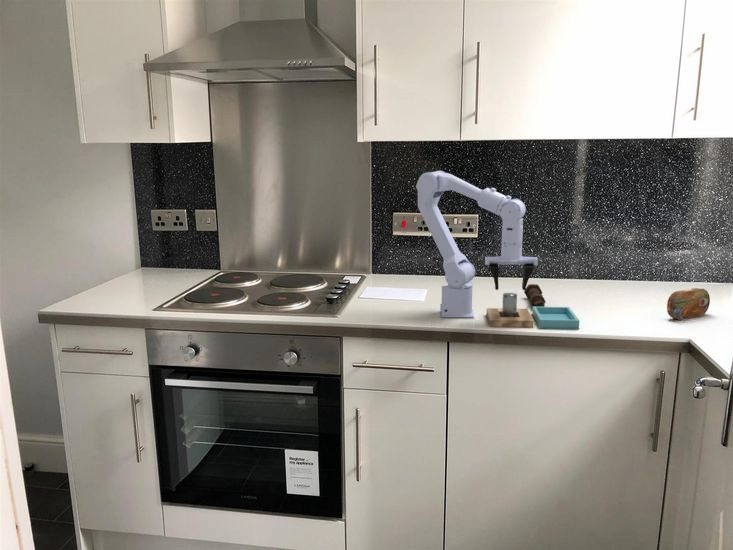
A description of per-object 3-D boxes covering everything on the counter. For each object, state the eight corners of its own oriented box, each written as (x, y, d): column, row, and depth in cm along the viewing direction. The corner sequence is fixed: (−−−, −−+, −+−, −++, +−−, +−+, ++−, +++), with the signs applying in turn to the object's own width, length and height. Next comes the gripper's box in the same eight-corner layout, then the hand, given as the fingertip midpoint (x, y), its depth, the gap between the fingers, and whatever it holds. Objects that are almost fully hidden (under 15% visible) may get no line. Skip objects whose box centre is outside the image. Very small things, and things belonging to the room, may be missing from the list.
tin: (672, 322, 178) (675, 293, 176) (663, 319, 181) (666, 291, 179) (709, 315, 184) (712, 287, 182) (700, 312, 187) (703, 285, 185)
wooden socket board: (489, 326, 176) (490, 320, 176) (486, 314, 188) (486, 308, 188) (533, 327, 175) (533, 320, 175) (527, 315, 187) (527, 308, 186)
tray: (539, 328, 174) (540, 320, 174) (532, 314, 187) (532, 306, 187) (578, 329, 173) (579, 320, 172) (568, 315, 186) (569, 306, 186)
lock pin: (502, 322, 180) (503, 296, 178) (501, 318, 184) (502, 292, 182) (516, 323, 179) (517, 296, 178) (515, 319, 183) (516, 292, 182)
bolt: (536, 317, 191) (530, 302, 206) (551, 309, 190) (544, 295, 205) (527, 301, 190) (521, 287, 205) (542, 293, 189) (535, 280, 204)
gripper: (487, 245, 173) (485, 292, 176) (540, 245, 172) (538, 292, 175) (485, 240, 180) (483, 286, 183) (536, 240, 178) (534, 286, 182)
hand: (510, 289), depth 179 cm, fingers open, 7 cm apart
